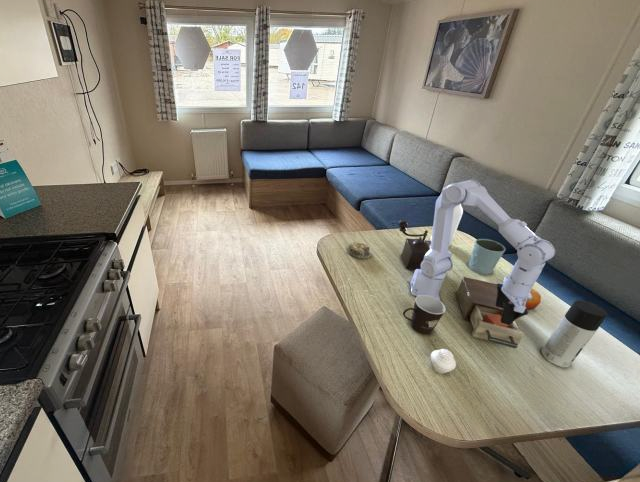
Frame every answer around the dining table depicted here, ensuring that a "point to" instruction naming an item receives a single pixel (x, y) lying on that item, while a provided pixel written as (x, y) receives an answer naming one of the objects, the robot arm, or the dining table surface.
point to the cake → (359, 250)
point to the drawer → (494, 328)
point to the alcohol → (455, 221)
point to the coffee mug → (425, 314)
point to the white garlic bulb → (443, 361)
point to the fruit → (533, 300)
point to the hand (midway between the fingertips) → (502, 314)
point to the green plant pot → (485, 256)
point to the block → (494, 319)
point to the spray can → (573, 333)
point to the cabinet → (476, 295)
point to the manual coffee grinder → (413, 248)
